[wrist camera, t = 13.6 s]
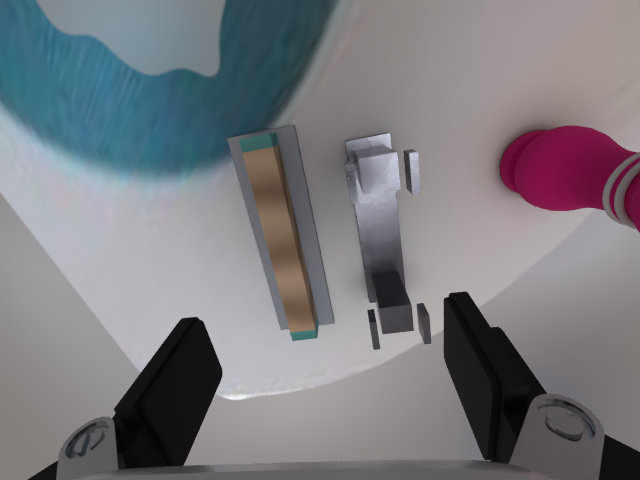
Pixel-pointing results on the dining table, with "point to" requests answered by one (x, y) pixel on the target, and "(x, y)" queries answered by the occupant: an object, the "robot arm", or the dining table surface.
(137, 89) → the dining table surface
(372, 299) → the bracket
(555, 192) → the pepper mill
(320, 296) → the mat
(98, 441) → the robot arm
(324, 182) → the dining table surface
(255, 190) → the rail
